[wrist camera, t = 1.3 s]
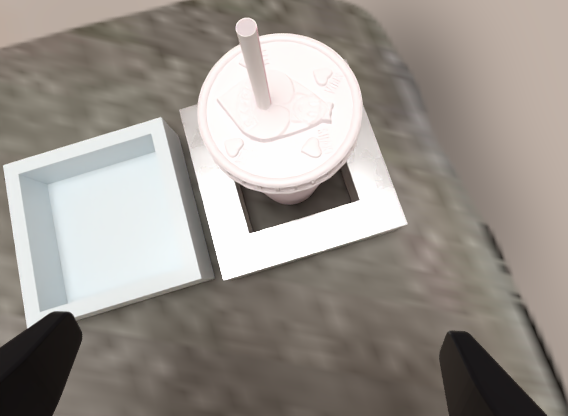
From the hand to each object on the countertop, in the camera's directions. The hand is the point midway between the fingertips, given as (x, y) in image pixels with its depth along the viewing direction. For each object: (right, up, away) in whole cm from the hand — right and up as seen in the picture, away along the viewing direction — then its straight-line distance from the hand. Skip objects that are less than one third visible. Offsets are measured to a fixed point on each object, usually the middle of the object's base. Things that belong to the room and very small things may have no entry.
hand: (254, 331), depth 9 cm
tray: (-9, +2, +14) cm, 17 cm away
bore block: (+1, +5, +14) cm, 15 cm away
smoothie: (+1, +5, +15) cm, 15 cm away
